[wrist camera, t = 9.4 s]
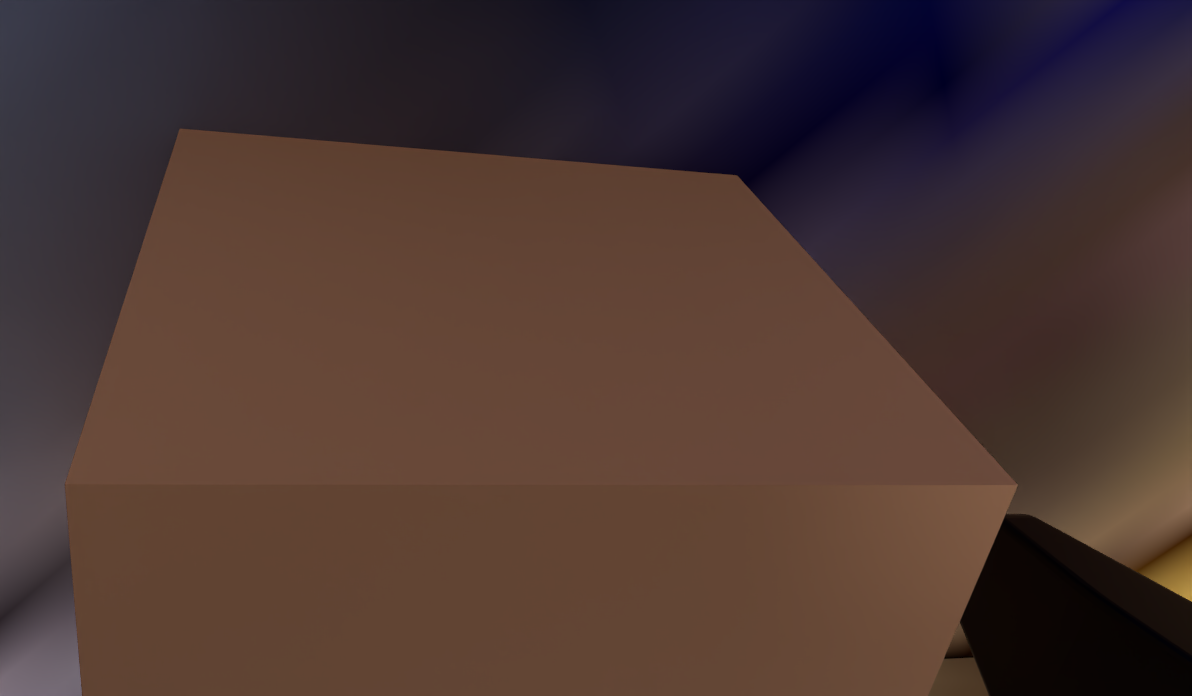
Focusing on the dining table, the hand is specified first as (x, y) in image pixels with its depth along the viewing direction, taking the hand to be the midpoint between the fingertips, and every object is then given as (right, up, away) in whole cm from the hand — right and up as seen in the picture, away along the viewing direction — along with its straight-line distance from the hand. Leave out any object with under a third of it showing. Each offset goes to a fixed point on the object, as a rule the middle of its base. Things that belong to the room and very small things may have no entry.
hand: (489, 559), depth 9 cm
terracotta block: (-1, +1, +2) cm, 3 cm away
